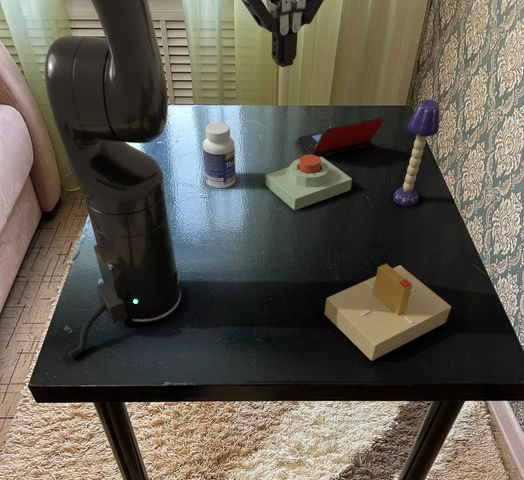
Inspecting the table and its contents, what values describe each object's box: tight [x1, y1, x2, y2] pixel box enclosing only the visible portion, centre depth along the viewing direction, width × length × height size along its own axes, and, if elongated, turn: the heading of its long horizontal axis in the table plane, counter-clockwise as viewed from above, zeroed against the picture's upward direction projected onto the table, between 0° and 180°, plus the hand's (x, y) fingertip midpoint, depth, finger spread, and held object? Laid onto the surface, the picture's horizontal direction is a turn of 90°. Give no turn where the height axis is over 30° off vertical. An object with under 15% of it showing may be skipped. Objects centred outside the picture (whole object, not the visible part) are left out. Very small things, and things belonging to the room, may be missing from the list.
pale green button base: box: [265, 157, 353, 211], centre depth 93 cm, size 12×9×4 cm
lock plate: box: [324, 265, 452, 362], centre depth 72 cm, size 13×10×3 cm
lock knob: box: [373, 263, 413, 315], centre depth 69 cm, size 5×1×5 cm, turn 32°
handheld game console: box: [297, 117, 385, 158], centre depth 101 cm, size 12×11×7 cm
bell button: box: [299, 154, 321, 174], centre depth 91 cm, size 4×4×2 cm
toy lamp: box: [392, 99, 440, 207], centre depth 86 cm, size 5×5×17 cm
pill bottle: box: [202, 122, 236, 189], centre depth 92 cm, size 5×5×10 cm
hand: (283, 64), depth 68 cm, fingers closed
